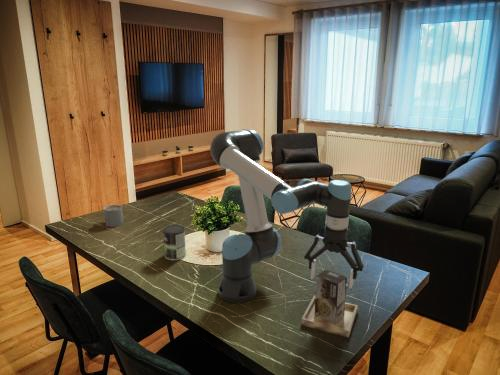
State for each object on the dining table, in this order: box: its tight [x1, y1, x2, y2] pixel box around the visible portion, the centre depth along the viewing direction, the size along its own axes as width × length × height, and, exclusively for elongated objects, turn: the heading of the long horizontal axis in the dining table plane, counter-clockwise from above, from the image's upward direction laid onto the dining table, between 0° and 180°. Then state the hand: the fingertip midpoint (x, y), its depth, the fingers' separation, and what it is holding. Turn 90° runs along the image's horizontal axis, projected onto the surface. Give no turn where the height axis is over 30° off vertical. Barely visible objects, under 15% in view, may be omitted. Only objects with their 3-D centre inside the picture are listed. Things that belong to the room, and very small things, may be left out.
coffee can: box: [162, 224, 187, 261], centre depth 187 cm, size 10×10×14 cm
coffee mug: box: [103, 204, 124, 228], centre depth 228 cm, size 13×10×10 cm
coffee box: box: [315, 269, 348, 324], centre depth 139 cm, size 9×6×16 cm
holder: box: [300, 294, 359, 339], centre depth 141 cm, size 17×17×2 cm
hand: (331, 281), depth 138 cm, fingers open, 13 cm apart
